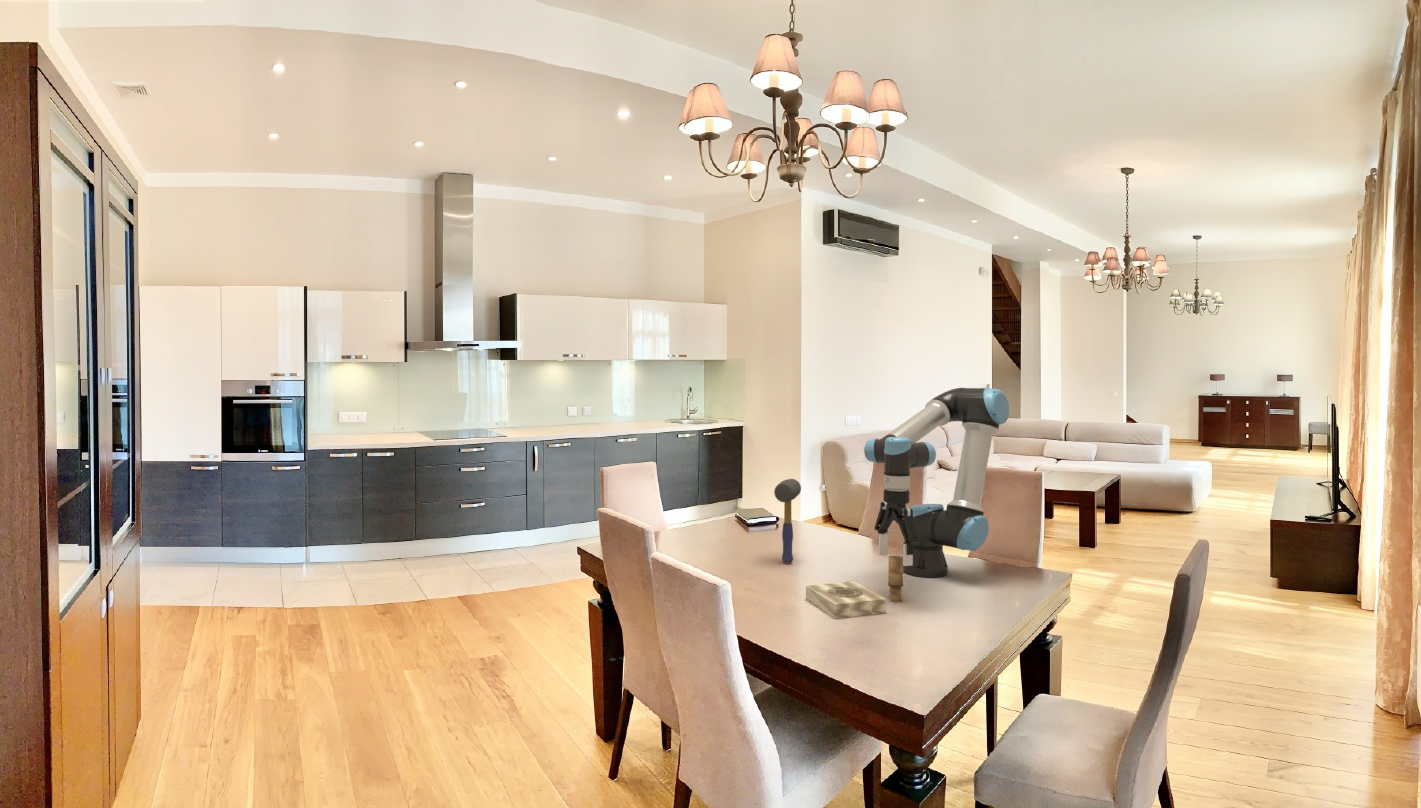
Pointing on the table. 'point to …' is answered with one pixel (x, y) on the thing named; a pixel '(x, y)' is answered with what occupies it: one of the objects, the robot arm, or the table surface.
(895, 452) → the robot arm
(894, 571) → the peg
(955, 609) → the table surface
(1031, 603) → the table surface
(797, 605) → the table surface
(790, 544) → the rubber mallet
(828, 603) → the board
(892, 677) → the table surface
